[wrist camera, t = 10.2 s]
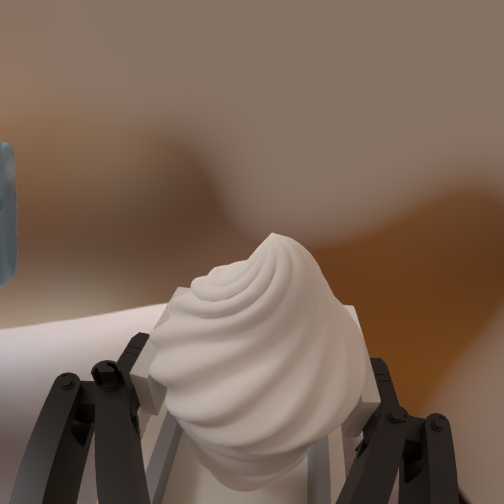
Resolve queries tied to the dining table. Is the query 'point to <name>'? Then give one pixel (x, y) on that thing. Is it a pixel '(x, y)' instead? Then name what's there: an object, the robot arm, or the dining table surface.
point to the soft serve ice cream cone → (259, 364)
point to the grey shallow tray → (217, 495)
